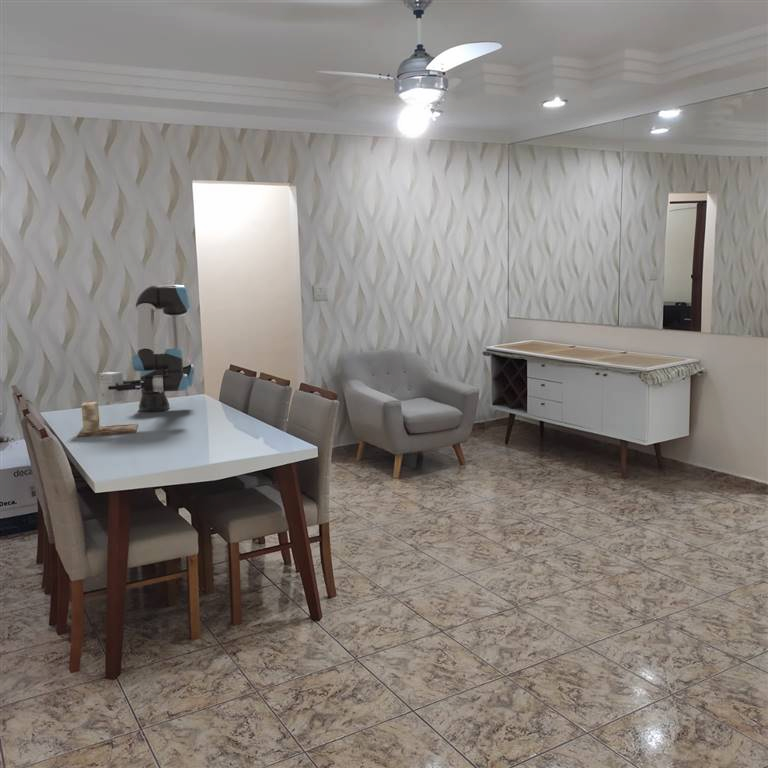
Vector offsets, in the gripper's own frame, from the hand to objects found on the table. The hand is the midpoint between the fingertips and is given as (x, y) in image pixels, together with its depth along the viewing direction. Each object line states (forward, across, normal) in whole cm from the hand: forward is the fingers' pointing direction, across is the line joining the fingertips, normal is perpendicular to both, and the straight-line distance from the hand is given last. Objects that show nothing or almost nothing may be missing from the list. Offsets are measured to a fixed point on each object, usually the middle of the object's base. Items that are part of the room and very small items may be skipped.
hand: (101, 386), depth 338 cm
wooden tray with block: (-3, -8, -19) cm, 21 cm away
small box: (-4, 0, -7) cm, 8 cm away
